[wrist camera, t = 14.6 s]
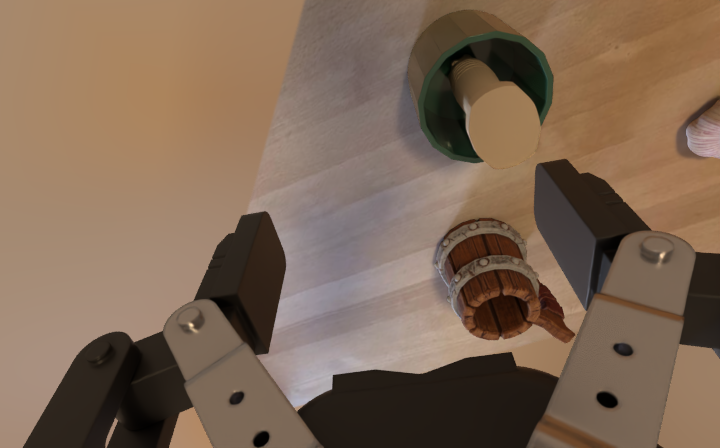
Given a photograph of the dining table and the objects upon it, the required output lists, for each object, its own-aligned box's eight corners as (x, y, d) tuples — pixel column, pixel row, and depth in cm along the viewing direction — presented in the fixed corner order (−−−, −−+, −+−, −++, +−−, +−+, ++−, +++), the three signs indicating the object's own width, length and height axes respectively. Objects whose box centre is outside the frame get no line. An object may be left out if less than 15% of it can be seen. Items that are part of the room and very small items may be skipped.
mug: (453, 200, 53) (505, 290, 41) (543, 220, 57) (612, 306, 46) (414, 268, 59) (449, 362, 48) (498, 281, 64) (549, 369, 52)
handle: (451, 108, 45) (485, 177, 33) (428, 51, 42) (457, 105, 30) (495, 87, 44) (548, 152, 32) (476, 27, 41) (526, 74, 29)
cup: (400, 23, 41) (410, 49, 33) (516, -3, 40) (557, 17, 32) (414, 128, 48) (426, 172, 39) (515, 109, 46) (549, 150, 38)
